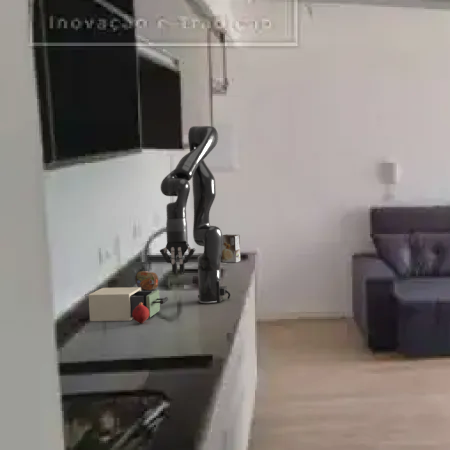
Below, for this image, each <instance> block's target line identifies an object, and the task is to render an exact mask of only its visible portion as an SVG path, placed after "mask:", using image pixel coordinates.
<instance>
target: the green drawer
mask: <svg viewBox="0 0 450 450" xmlns="http://www.w3.org/2000/svg"><path fill="white" fill-rule="evenodd" d="M167 301H169V297H168V296H165V297H164V298H163V297H162V298H160V289H154V291H153V290H141V291H138V292H136V293H134V294H133V295H131V296H130V306H131V316H132V312H133V310H134V309H135V307H137V306H138V305H139V303H141V302H142V303H143V305H144V306H145V307H147V308H148V310H149V313H150V314H149V317H148V319H149V318H151V317H153V316H155V314H157V313H158V312H160V311H161V305H163V304H165V303H166V302H167Z"/></svg>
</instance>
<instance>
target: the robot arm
mask: <svg viewBox="0 0 450 450" xmlns="http://www.w3.org/2000/svg"><path fill="white" fill-rule="evenodd" d="M187 134H188V135H187V141H188V148H189V152H188V153H186V154H184V155H183V157H181V158H180V160H179V161H178V163H177V165H176V167H175V168H174V169H173V170H172V171H170V173H168V174H166V176H165V177H164V178H163V179H162V181H161V182H160V192H161V193H162V195H163V196H165V197H177V198H176V200H175V201H173V202H168V203H167V204H166V207H165V209H166V223H165V225H166V226H165V229H166V244H165V247H163V248H161V249H159V252H160V254H161V256H162V257H163V259H164V260H165V262H166V263H167V264H170V265H171V272H172V273H173V274H174V275H176V274H178V263H177V258H178V259H179V274H180V275H182V274H184V272H186V271H185V270H186V266H185V264H187V263H189V262H190V260H191V259H192V257H193V255H194V253H195V252H196V248H193V247H191V246H190V244H189V241H188V221H187V203H188V199H189V196H190V192H191V185H190V183H189V182H190V181H191V179H192V181H191V183H192V197H193V228H192V237H193V241H194V243H195V244H196V245H197V246H200V247H203V252H202V254H199V255H198V257H197V274H198V275H197V276H198V295H197V298H198V303H200V304H205V305H206V304H208V305H209V304H210V305H211V304H219V303H221V302H222V301H223V299H224V296H226V295H227V298H226V299H228V300H230V298H231V292H229V290H228V286H227V285H223V278H222V268H221V260H222V242H223V238H222V235H223V233H222V230H221V228H220V227H219V226H216V225H210V212H211V209H212V206H213V203H214V202H215V198H216V195H217V191H216V190H217V188H216V186H217V185H216V178H215V176H214V174H213V173H212V171H211V169H210V168H209V167H208V165H207V163H206V162H205V159H206V157H207V156H208V155H209V154H210V153H211V152H212V151H213V150H214V149H215V148H216V146H217V144H218V141H219V132H218V130H217V128H215V127H214V126H210V125H194V126H190V128H189V129H188V133H187ZM168 252H169V254H170V255H169V254H168ZM186 252H187V253H188V254H187V255H186V256H185V254H186ZM185 257H186V258H185Z"/></svg>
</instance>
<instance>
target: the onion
mask: <svg viewBox="0 0 450 450" xmlns="http://www.w3.org/2000/svg"><path fill="white" fill-rule="evenodd" d="M149 314H150V313H149V310H148V308H147V307H145V306H144V305H143V303H142V302H141V303H139V305H138V306H137V307H135V309H134V310H133V312H132V316H133V321H135V322H137V323H138V324H144V323H145V322H146V321H147V320H148V319H149V318H148V317H149Z"/></svg>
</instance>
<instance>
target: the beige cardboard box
mask: <svg viewBox="0 0 450 450" xmlns="http://www.w3.org/2000/svg"><path fill="white" fill-rule="evenodd" d="M138 291H142V289H141V287H137V286H136V287H132V286H131V287H130V286H129V287H101V288H99V289H97V290H96V291H93V292H91V293H89V294H88V311H89V322H127V321H129V322H130V321H132V320H134V318H133V316H131V306H130V296H131V295H133V294H134V293H136V292H138Z"/></svg>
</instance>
